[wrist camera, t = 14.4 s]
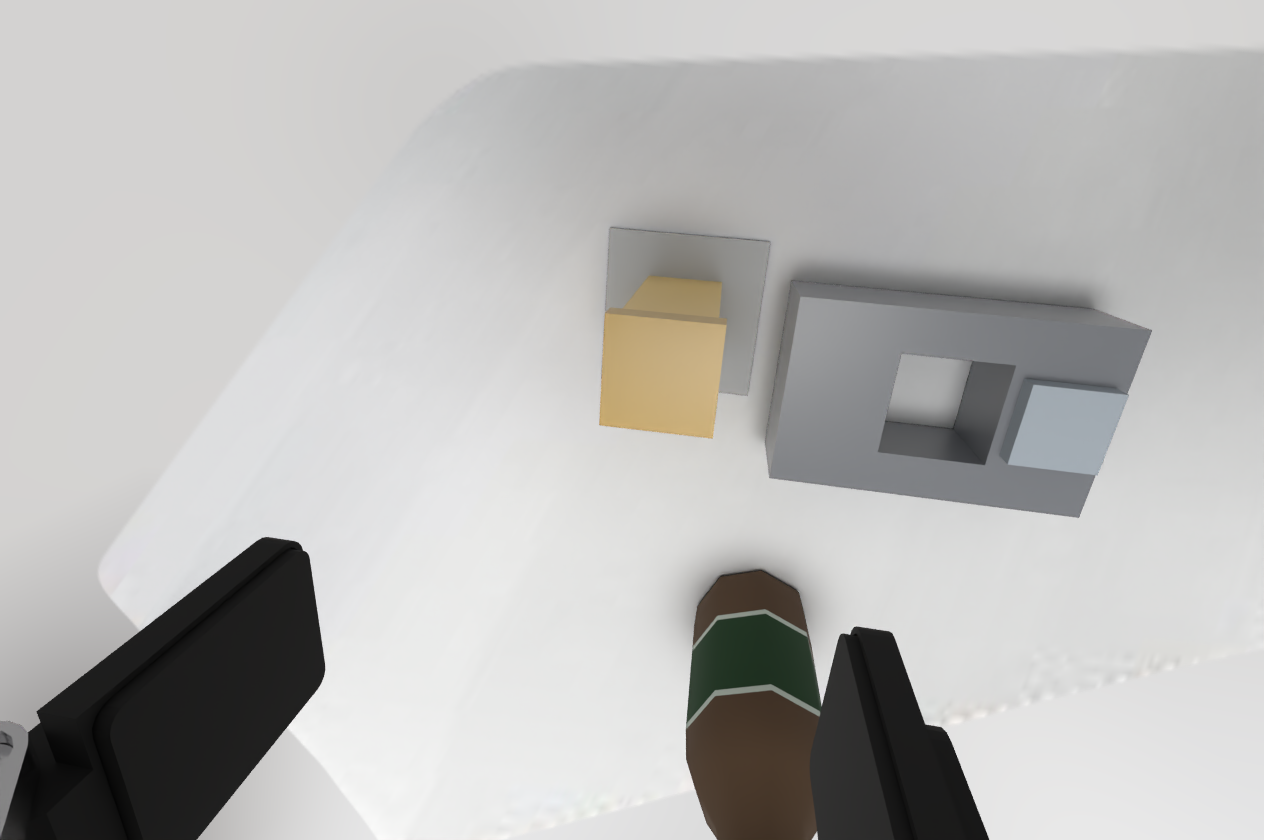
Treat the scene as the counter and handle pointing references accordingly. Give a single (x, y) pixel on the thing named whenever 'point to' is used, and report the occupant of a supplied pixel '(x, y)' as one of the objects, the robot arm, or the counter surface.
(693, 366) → the plug
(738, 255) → the mat
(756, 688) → the beer bottle
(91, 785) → the robot arm
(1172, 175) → the counter surface
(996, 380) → the grey block with hole
